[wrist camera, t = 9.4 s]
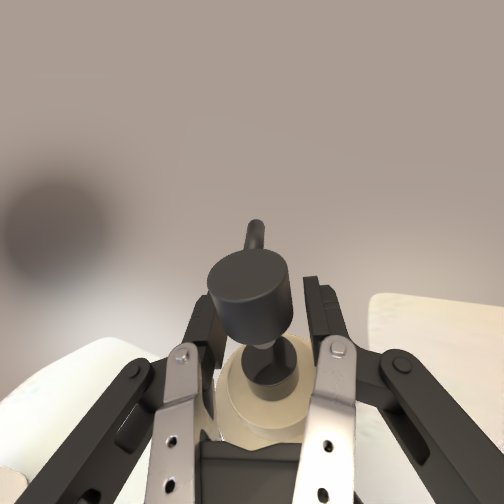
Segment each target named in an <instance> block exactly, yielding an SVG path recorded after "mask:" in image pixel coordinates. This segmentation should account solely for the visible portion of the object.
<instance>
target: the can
mask: <svg viewBox="0 0 504 504" xmlns="http://www.w3.org/2000/svg"><path fill="white" fill-rule="evenodd" d="M27 487H28V484H27V480H26V478H25V476H24V475H22V474H21V473H19V472H16V471H14V470H12V469H9V468H7V467H5V466H2V465H0V504H14V503H15V502H16V500H17V499H18V498H19V497H20V495H21V494H22V493H23V492H24V490H25V489H26V488H27Z"/></svg>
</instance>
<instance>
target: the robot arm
mask: <svg viewBox="0 0 504 504" xmlns="http://www.w3.org/2000/svg"><path fill="white" fill-rule="evenodd" d="M303 283H304V295H305V304H306V312H307V319H308V325H309V332H310V339H311V346H312V352H313V359H314V366H315V367H317V369H316V375H315V382H314V388H313V392H312V394H311V396H310V400H309V406H308V412H307V418H306V424H305V430H304V436H303V442H302V443H283V442H279V443H276V444H273V445H269V446H266V447H263V448H260V449H256V450H253V451H250V450H247V449H244V448H242V447H239V446H236V445H234V444H231V443H229V442H226V441H222V440H221V435H220V431H219V427H218V422H217V412H216V399H215V387H214V379H213V373H214V369H221V368H222V363H223V358H224V352H225V347H226V341H227V336H228V335H227V333H226V332H225V330H224V328H223V325H222V323H221V320H220V318H219V315H218V313H217V310H216V307H215V305H214V302H213V300H212V297H211V295H210V292H209V290H208V293H207V295H202V296H201V297H200V298H199V300H198V301H197V302H196V304H195V307H194V310H193V313H192V316H191V319H190V321H189V324H188V327H187V330H186V332H185V335H184V338H183V340H182V343H181V344H179V345H178V346H176V347H175V348H174V349H173V350H172V351H171V352H170V354H169V356H168V357H166V358H164V359H161V360H158V361H155V362H152V363H150V362H149V361H148V360H147V359H145V358H137V359H135V360H133V361H131V362H129V363H128V364H127V365H126V366H125V367H124V368H123V369H122V370H121V372H120V373H119V374H118V375H117V376H116V378H115V379H114V380H113V381H112V383H111V384H110V385H109V386H108V388H107V389H106V390H105V391H104V393H103V394H102V395H101V396H100V398H99V399H98V400H97V401H96V402H95V404H94V405H93V406H92V407H91V409H90V410H89V411H88V412H87V414H86V415H85V416H84V417H83V419H82V420H81V421H80V422H79V424H78V425H77V426H76V427H75V428H74V430H73V431H72V432H71V433H70V435H69V436H68V437H67V438H66V440H65V441H64V442H63V443H62V445H61V446H60V447H59V448H58V450H57V451H56V452H55V453H54V454H53V456H52V457H51V458H50V459H49V461H48V462H47V463H46V464H45V466H44V467H43V468H42V469H41V471H40V472H39V473H38V474H37V476H36V477H35V478H34V479H33V480H32V482H31V483H30V484H29V485H28V487H27V488H26V489H25V490H24V492H23V493H22V494H21V495H20V497H19V498H18V499H17V500H16V502H15V503H14V504H113V503H114V501H115V500H116V498H117V496H118V495H119V493H120V491H121V489H122V488H123V486H124V484H125V483H126V481H127V479H128V477H129V476H130V474H131V472H132V470H133V469H134V467H135V465H136V464H137V462H138V460H139V458H140V457H141V455H142V453H143V451H144V450H145V448H146V446H147V445H148V443H149V441H150V439H151V438H152V442H151V451H150V459H149V467H148V476H147V484H146V492H145V501H144V504H363V502H362V501H361V500H360V498H359V497H358V496H357V494H356V493H355V491H354V461H355V424H356V407H355V400H357V401H360V402H363V403H366V404H368V405H371V406H374V407H377V409H378V411H379V412H380V414H381V416H382V417H383V419H384V420H385V422H386V424H387V425H388V427H389V429H390V430H391V432H392V433H393V435H394V437H395V438H396V440H397V441H398V443H399V445H400V446H401V448H402V450H403V451H404V453H405V454H406V456H407V458H408V459H409V461H410V463H411V464H412V466H413V467H414V469H415V471H416V472H417V474H418V476H419V477H420V479H421V480H422V482H423V484H424V485H425V487H426V488H427V490H428V492H429V493H430V495H431V497H432V498H433V500H434V501H435V503H436V504H504V454H503V453H502V452H501V451H500V450H499V449H498V448H497V447H496V445H495V444H494V443H493V442H492V441H491V440H490V439H489V438H488V437H487V435H486V434H485V433H484V432H483V431H482V430H481V429H480V428H479V427H478V425H477V424H476V423H475V422H474V421H473V420H472V419H471V418H470V417H469V415H468V414H467V413H466V412H465V411H464V410H463V409H462V408H461V406H460V405H459V404H458V403H457V402H456V401H455V400H454V399H453V398H452V396H451V395H450V394H449V393H448V392H447V391H446V390H445V389H444V388H443V386H442V385H441V384H440V383H439V382H438V381H437V380H436V379H435V378H434V376H433V375H432V374H431V373H430V372H429V371H428V370H427V369H426V368H425V366H424V365H423V364H422V363H421V362H420V361H419V360H418V359H417V358H416V357H415V356H414V355H412V354H410V353H409V352H406V351H404V350H400V349H390V350H387V351H385V352H384V353H383V354H380V353H376V352H372V351H368V350H365V349H362V348H360V347H359V346H357V345H356V344H355V343H354V342H353V341H352V340H351V339H350V337H349V335H348V332H347V329H346V325H345V322H344V319H343V316H342V313H341V309H340V306H339V302H338V299H337V296H336V293H335V291H334V290H333V289H332V288H331V287H330V286H329V285H321V286H320V285H319V281H318V277H317V276H310V277H303ZM136 404H137V405H136ZM135 405H136V406H135ZM133 408H134V409H133ZM131 411H132V412H131ZM130 412H131V413H130ZM129 414H130V415H129ZM128 415H129V416H128ZM127 417H128V418H127ZM126 418H127V419H126ZM125 420H126V421H125ZM124 421H125V422H124ZM123 423H124V424H123ZM122 424H123V425H122ZM121 426H122V427H121ZM120 427H121V428H120ZM118 430H119V431H118ZM116 433H117V434H116Z"/></svg>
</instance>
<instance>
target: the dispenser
mask: <svg viewBox="0 0 504 504" xmlns="http://www.w3.org/2000/svg"><path fill="white" fill-rule="evenodd" d="M316 369H317V367H315V366H314V359H313V352H312V346H311V342H310V341H308V340H306V339H304V338H301V337H299V336H296V335H291V334H283V335H281V336H280V337H279V338H277V339H276V341H275V343H274V344H273V345H272V346H271V347H269V348H267V349H258V348H256V347H254V346H253V345H244V344H243V345H242V346H241V347H240V348H238V349H237V350H236V351H235V352H234V353H233V354H232V355H231V357H230V358H229V359H228V361H227V362H226V364H225V365H224V367H223V369H222V371H221V373H220V375H219V378H218V381H217V385H216V389H215V399H216V412H217V422H218V427H219V430H220V432H221V434H222V436H223V438H224V440H225V441H226V442H229V443H231V444H234V445H236V446H239V447H242V448H244V449H247V450H250V451H253V450H256V449H260V448H263V447H266V446H269V445H273V444H276V443H279V442H283V443H302V442H303V436H304V430H305V424H306V418H307V412H308V406H309V400H310V396H311V394H312V392H313V388H314V382H315V375H316Z"/></svg>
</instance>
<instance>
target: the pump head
mask: <svg viewBox="0 0 504 504" xmlns="http://www.w3.org/2000/svg"><path fill="white" fill-rule="evenodd" d="M264 230H265V226H264V224H263V222H262V221H261V220H258V219H254V220H252V221H251V222H250V223H249V224H248V228H247V233H246V239H245V244H244V250H241V251H238V252H235V253H232V254H230V255H228V256H226V257H224V258H223V259H221V260H220V261H219V262H217V263H216V264H215V265H214V266H213V268H212V269H211V271H210V272H209V275H208V278H207V287H208V289H209V292H210V295H211V297H212V300H213V302H214V305H215V307H216V310H217V313H218V315H219V318H220V320H221V323H222V325H223V328H224V330H225V332H226V333H227V335H228V336H229V337H230V338H232V339H233V340H235V341H236V342H238V343H241V344H244V345H253V346H254V347H256V348H258V349H267V348H269V347H271V346H272V345H273V344H274V343H275V341H276V339H277V338H279V337H280V336H281V335H283V334H284V332H285V331H286V330H287V329H288V327H289V326H290V324H291V322H292V318H293V305H292V297H291V289H290V281H289V275H288V267H287V264H286V262H285V260H284V259H283V258H282V257H281V256H280V255H279V254H277V253H275V252H273V251H270V250H267V249H263V247H264Z"/></svg>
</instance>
